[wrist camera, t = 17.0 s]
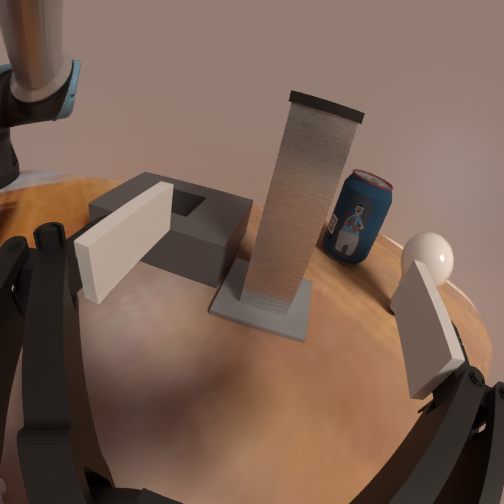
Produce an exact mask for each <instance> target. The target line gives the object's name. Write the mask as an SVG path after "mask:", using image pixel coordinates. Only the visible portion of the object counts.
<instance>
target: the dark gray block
mask: <svg viewBox="0 0 504 504" xmlns="http://www.w3.org/2000/svg"><path fill="white" fill-rule="evenodd" d="M161 181H162V182H166V183H170V184H174V185H173V195H172V206H171V219H170V230H169V231H168V232H167V233H166V234H165V235H164V236H163V237H162V238H161V239H160V240H159V241H158V242H157V243H156V244H155V245H154V246H153V247H152V248H151V249H150V250H149V251H148V252H147V253H146V254H145V255H144V256H143V257H142V258H141V259H140V261H142V262H145V263H148V264H150V265H153V266H156V267H158V268H161V269H164V270H167V271H169V272H172V273H175V274H178V275H181V276H183V277H186V278H189V279H192V280H195V281H198V282H201V283H203V284H206V285H209V286H212V287H215V288H216V287H217V286H218V284H219V282H220V280H221V278H222V276H223V274H224V272H225V271H226V269H227V267H228V265H229V263H230V261H231V259H232V258H233V256H234V254H235V252H236V250H237V248H238V246H239V245H240V243H241V241H242V239H243V237H244V235H245V233H246V229H247V225H248V220H249V216H250V212H251V208H252V204H253V200H250V199H247V198H244V197H240V196H236V195H233V194H229V193H226V192H222V191H218V190H215V189H211V188H207V187H204V186H200V185H196V184H192V183H188V182H184V181H181V180H176V179H172V178H168V177H164V176H160V175H156V174H152V173H148V172H144V173H142V174H140V175H138V176H136V177H134V178H132V179H130V180H129V181H127V182H125V183H123V184H121V185H119V186H118V187H116V188H114V189H112V190H111V191H109V192H107V193H105V194H104V195H102V196H100V197H99V198H97V199H95V200H94V201H92V202H90V203H89V218H90V222H92V221H93V220H94V219H96V218H98V217H101V216H103V215H106V214H107V215H110V214H111V213H113V212H114V211H116V210H117V209H119V208H120V207H122V206H123V205H125V204H126V203H128V202H129V201H131V200H132V199H134V198H135V197H137V196H138V195H140V194H141V193H143V192H145V191H146V190H148V189H149V188H151V187H153V186H154V185H156V184H157V183H159V182H161Z"/></svg>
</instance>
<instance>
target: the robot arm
mask: <svg viewBox="0 0 504 504" xmlns="http://www.w3.org/2000/svg"><path fill="white" fill-rule="evenodd" d="M62 14H63V0H0V29H1V33H2V37H3V40H4V44H5V47H6V51H7V54H8V57H9V60H10V64H5V65H1V66H0V188H2V187H4V186H6V185H8V184H9V183H11V182H12V181H13V180H15V179H16V178H17V177H18V175H19V173H20V172H19V162H18V159H17V157H16V154H15V151H14V149H13V146H12V143H11V140H10V127H14V126H18V125H24V124H30V123H35V122H43V121H50V120H52V121H56V120H57V119H63V118H67V117H69V116H70V115H71V113H72V111H73V106H74V99H75V94H76V88H77V83H78V78H79V72H80V67H81V62H80V61H79V60H71V57H70V55H69V53H68V52H67V51H66V50H64V49H63V48H62ZM173 185H174V184H170V183H166V182H162V181H161V182H159V183H157V184H156V185H154V186H153V187H151V188H149V189H148V190H146V191H145V192H143V193H141V194H140V195H138V196H137V197H135V198H134V199H132V200H131V201H129V202H128V203H126V204H125V205H123V206H122V207H120V208H119V209H117V210H116V211H114V212H113V213H111V214H110V215H107V214H106V215H103V216H101V217H98V218H96V219H94V220H93V221H92V222H90V223H89V224H87V225H86V226H85V227H83V229H80V230H79V231H78V232H76V233H75V234H74V235H72V236H71V237H70V238H68V239H67V240H66V238H65V231H64V226H63V225H62V224H61V223H58V222H49V223H45V224H43V225H41V226H39V227H38V228H36V229H35V231H34V232H33V235H34V239H35V244H36V248H37V249H35V248H29V247H28V243H27V239H26V238H25V237H23V236H14V237H11V238H10V239H8V240H7V241H5V243H4V244H3V245H2V246H1V248H0V462H1V457H2V452H3V443H4V434H5V425H6V418H7V411H8V405H9V399H10V394H11V389H12V384H13V379H14V375H15V371H16V367H17V363H18V359H19V355H20V352H21V348H22V345H23V353H22V398H23V414H24V427H23V428H22V429H21V430H19V431H18V434H17V449H18V455H19V461H20V466H21V471H22V476H23V480H24V485H25V489H26V493H27V496H28V500H29V503H30V504H183V503H181V502H178V501H175V500H172V499H170V498H167V497H164V496H162V495H159V494H157V493H154V492H152V491H150V490H147V489H145V488H143V489H142V490H138V489H131V488H116V487H115V484H114V482H113V479H112V476H111V473H110V471H109V468H108V466H107V463H106V461H105V460H104V458H103V456H102V453H101V451H100V448H99V444H98V440H97V437H96V433H95V429H94V424H93V420H92V415H91V410H90V405H89V400H88V395H87V389H86V382H85V376H84V368H83V360H82V351H81V340H80V326H79V301H78V295H77V292H78V291H79V290H80V289H81V288H82V287H83V292H84V296H85V298H86V299H88V300H90V301H92V302H94V303H96V304H98V305H99V304H100V303H101V301H102V300H103V299H104V298H105V297H106V296H107V295H108V294H109V293H110V291H111V290H112V289H113V288H114V287H115V286H116V285H117V284H118V283H119V282H120V280H121V279H122V278H123V277H124V276H125V275H126V274H127V273H128V272H129V271H130V270H131V269H132V268H133V267H134V266H135V265H136V263H137V262H138V261H139V260H140V259H141V258H142V257H143V256H144V255H145V254H146V253H147V252H148V251H149V250H150V249H151V248H152V247H153V246H154V245H155V244H156V243H157V242H158V241H159V240H160V239H161V238H162V237H163V236H164V235H165V234H166V233H167V232H168V231H169V230H170V219H171V206H172V195H173ZM12 285H13V287H14V288H13V290H12ZM391 301H392V305H393V309H394V313H395V318H396V322H397V326H398V331H399V336H400V341H401V346H402V351H403V356H404V362H405V367H406V374H407V380H408V387H409V394H410V398H411V399H420V400H423V399H425V398H426V397H427V396H428V395H429V394H431V393H433V398H434V399H432V400H431V401H430V402H429V403H428V404H426V405H425V406H424V407H423V408H421V409H420V410H419V411H418V412H417V413H420V412H422V411H423V412H422V414H421V416H420V417H419V419H418V420H417V422H416V423H415V425H414V426H413V428H412V429H411V431H410V432H409V434H408V435H407V436H406V438H405V439H404V441H403V442H402V443H401V445H400V446H399V447H398V449H397V450H396V451H395V453H394V454H393V455H392V457H391V458H390V459H389V460H388V462H387V463H386V464H385V465H384V466H383V468H382V469H381V470H380V471H379V472H378V473H377V475H376V476H375V477H374V478H373V479H372V480H371V481H370V483H369V484H368V485H367V486H366V487H365V488H364V489H363V490H362V491H361V492H360V493H359V494H358V495H357V496H356V497H355V498H354V499H353V500H352V501H351V502H350V503H349V504H500V500H501V495H502V491H503V486H504V383H503V382H498V383H496V384H495V385H494V386H493V387H492V388H491V387H489V386H487V385H485V380H484V377H483V375H482V373H481V372H480V371H479V370H478V369H477V368H476V367H473V366H470V364H469V361H468V358H467V355H466V352H465V349H464V346H463V345H462V341H461V338H459V337H460V336H459V333H458V330H457V328H456V327H455V325H454V324H453V322H452V321H451V320H450V318H449V315H448V313H447V310H446V308H445V306H444V303H443V301H442V299H441V297H440V294H439V292H438V290H437V288H436V286H435V284H434V281H433V279H432V277H431V275H430V273H429V271H428V269H427V267H426V265H425V263H422V262H419V261H417V260H413V262H412V264H411V265H410V267H409V269H408V271H407V272H406V274H405V276H404V277H403V279H402V281H401V282H400V284H399V286H398V287H397V289H396V291H395V292H394V294H393V296H392V297H391ZM485 423H486V426H485V429H484V430H483V431H481V432H479V428H480V427H481V426H482V425H484V424H485ZM5 491H6V484H5V481H4V480H3V479H2V478H1V477H0V504H4V503H3V499H2V493H4V492H5Z"/></svg>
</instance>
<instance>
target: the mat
mask: <svg viewBox="0 0 504 504" xmlns="http://www.w3.org/2000/svg"><path fill="white" fill-rule="evenodd" d="M249 264H250V262H249V261H246V260H242V259H239V258H236V259H235V261H234V263H233V265H232V267H231V269H230V271H229V273H228V275H227V277H226V279H225V281H224V283H223V285H222V287H221V289H220V291H219V292H218V294H217V296H216V298H215V300H214V302H213V304H212V306H211V308H210V311H209V313H212V314H214V315H217V316H220V317H223V318H226V319H229V320H232V321H235V322H238V323H241V324H244V325H247V326H251V327H254V328H257V329H260V330H263V331H267V332H270V333H273V334H277V335H280V336H283V337H287V338H290V339H294V340H297V341H301V342H305V340H306V333H307V324H308V315H309V305H310V294H311V283H312V281H310V280H306V279H303V278H302V280H301V283H300V285H299V287H298V290H297V292H296V295H295V297H294V299H293V302H292V304H291V306H290V309H289V311H288V313H287V316H286V317H284V316H281V315H278V314H274V313H271V312H268V311H265V310H261V309H258V308H255V307H252V306H249V305H246V304H243V303H240V298H241V294H242V290H243V286H244V283H245V279H246V275H247V271H248V267H249Z"/></svg>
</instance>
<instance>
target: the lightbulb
mask: <svg viewBox="0 0 504 504" xmlns="http://www.w3.org/2000/svg"><path fill="white" fill-rule="evenodd" d="M413 260H417V261H419V262H422V263H425V265H426V267H427V269H428V271H429V273H430V275H431V277H432V279H433V281H434V284H435V286H436V288H438V287H440V286H441V285H442V284H444V283H445V282H446V281H447V279H448V278H449V276H450V274H451V272H452V269H453V264H454V258H453V252H452V249H451V247H450V245H449V243H448V242H447V241H446V240H445V239H444V238H443V237H442V236H440V235H439V234H437V233H433V232H422V233H419V234H417V235H415V236H413V237H412V238H411V239H410V240H409V241H408V242H407V243H406V245H405V247H404V249H403V252H402V256H401V270H402V276H401V279H400V282H401V281H402V279H403V277H404V276H405V274H406V272H407V271H408V269H409V267H410V265H411V264H412V262H413ZM400 282H399V284H400ZM389 306H390V308H391V310H392V311H393V312H394V309H393V305H392V301H390V303H389Z"/></svg>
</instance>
